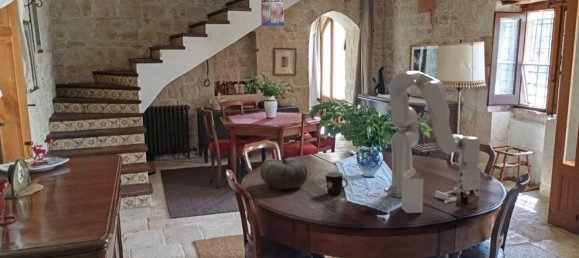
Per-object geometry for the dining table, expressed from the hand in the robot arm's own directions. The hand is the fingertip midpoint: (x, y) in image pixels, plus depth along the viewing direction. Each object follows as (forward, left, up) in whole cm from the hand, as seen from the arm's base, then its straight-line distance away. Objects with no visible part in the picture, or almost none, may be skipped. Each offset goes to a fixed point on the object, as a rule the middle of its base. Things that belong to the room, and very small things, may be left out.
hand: (467, 203), depth 197 cm
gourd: (-57, +70, -1) cm, 90 cm away
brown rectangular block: (0, 0, -1) cm, 1 cm away
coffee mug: (-42, +44, -1) cm, 60 cm away
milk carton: (-26, +8, -1) cm, 27 cm away
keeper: (+3, +12, -1) cm, 12 cm away
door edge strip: (+2, +7, -1) cm, 7 cm away
